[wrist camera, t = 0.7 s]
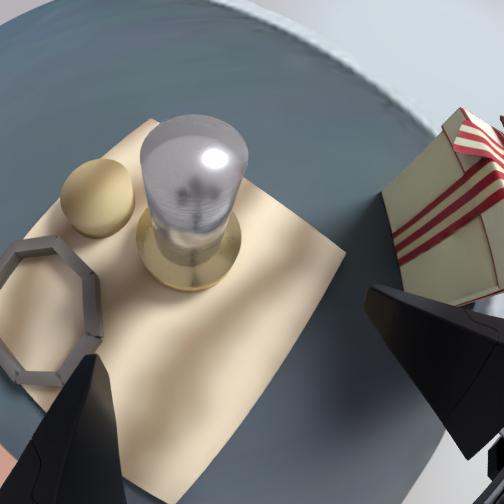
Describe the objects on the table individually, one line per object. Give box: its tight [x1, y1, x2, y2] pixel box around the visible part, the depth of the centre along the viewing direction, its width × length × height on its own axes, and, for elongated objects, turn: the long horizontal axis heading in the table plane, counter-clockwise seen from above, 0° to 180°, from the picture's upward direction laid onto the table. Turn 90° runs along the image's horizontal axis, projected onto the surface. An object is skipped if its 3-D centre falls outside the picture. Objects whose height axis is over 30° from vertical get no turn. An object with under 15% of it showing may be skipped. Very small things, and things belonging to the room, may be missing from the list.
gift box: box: [381, 107, 504, 307], centre depth 21 cm, size 17×18×17 cm
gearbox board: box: [0, 118, 346, 504], centre depth 19 cm, size 23×26×4 cm
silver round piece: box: [136, 115, 248, 293], centre depth 17 cm, size 8×8×11 cm
